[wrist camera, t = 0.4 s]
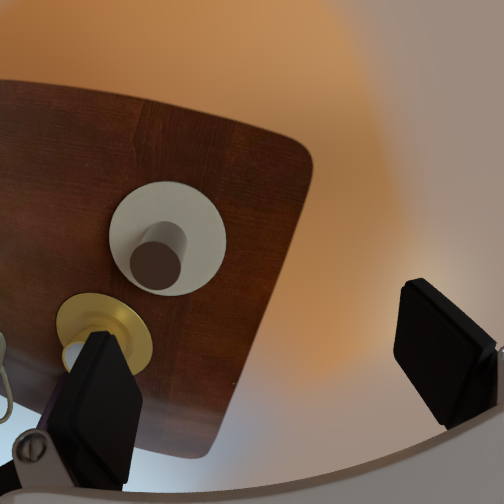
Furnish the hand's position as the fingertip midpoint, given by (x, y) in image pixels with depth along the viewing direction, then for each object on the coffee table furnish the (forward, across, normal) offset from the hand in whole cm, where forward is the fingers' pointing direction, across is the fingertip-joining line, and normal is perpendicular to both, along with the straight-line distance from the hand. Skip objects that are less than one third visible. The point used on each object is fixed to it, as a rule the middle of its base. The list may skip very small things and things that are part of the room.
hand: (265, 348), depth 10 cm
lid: (+20, +7, +2) cm, 21 cm away
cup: (+21, +17, +12) cm, 30 cm away
